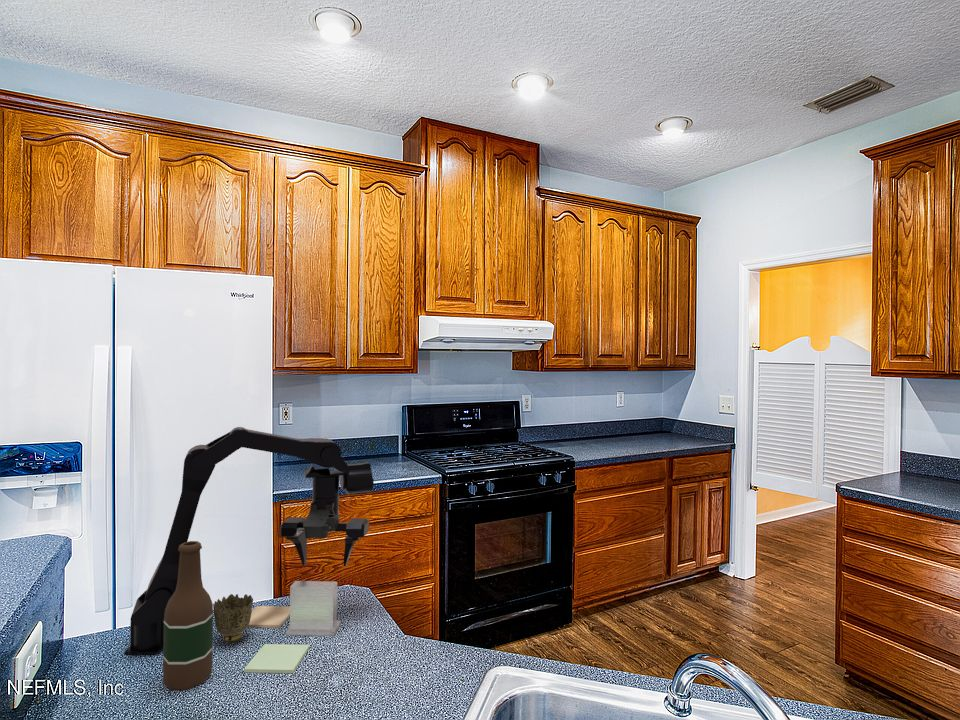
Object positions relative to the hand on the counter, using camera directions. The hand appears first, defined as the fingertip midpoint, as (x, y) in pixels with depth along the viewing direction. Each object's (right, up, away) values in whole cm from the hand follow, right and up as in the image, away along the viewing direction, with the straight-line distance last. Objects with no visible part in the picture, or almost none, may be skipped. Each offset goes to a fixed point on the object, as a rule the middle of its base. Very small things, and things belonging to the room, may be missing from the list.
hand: (324, 565), depth 123 cm
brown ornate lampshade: (-15, -11, -12) cm, 22 cm away
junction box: (0, -11, -7) cm, 13 cm away
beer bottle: (-17, -11, -26) cm, 33 cm away
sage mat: (-3, -11, -19) cm, 22 cm away
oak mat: (-12, -11, -2) cm, 16 cm away
